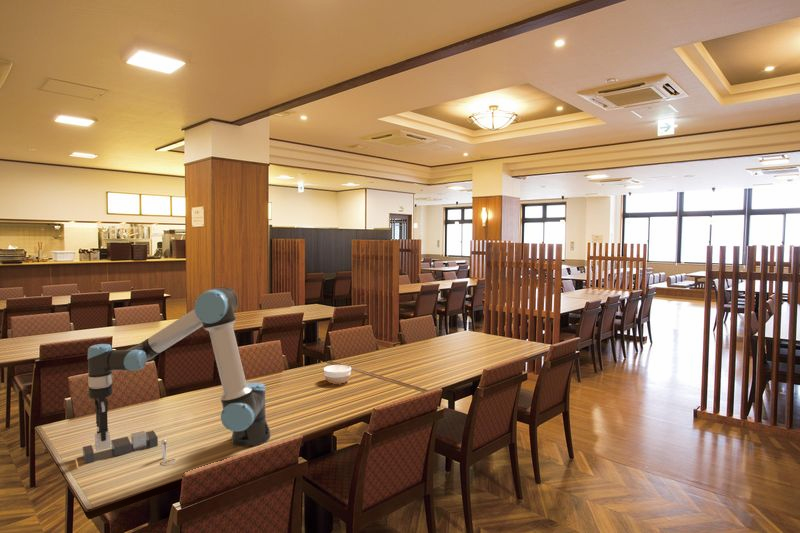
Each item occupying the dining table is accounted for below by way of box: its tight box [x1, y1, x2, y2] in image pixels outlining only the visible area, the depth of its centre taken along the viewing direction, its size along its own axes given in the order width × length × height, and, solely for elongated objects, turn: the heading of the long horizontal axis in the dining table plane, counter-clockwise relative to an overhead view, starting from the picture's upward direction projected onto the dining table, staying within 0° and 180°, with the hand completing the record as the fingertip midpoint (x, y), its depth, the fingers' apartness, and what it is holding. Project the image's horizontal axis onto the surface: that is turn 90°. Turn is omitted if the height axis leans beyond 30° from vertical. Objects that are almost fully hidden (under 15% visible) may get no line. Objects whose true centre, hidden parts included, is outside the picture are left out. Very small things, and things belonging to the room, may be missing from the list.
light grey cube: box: [130, 430, 146, 450], centre depth 183 cm, size 4×4×5 cm
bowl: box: [323, 364, 352, 385], centre depth 269 cm, size 16×16×8 cm
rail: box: [82, 430, 159, 465], centre depth 180 cm, size 8×24×4 cm, turn 129°
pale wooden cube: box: [94, 430, 112, 452], centre depth 176 cm, size 4×4×5 cm
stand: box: [159, 439, 176, 466], centre depth 173 cm, size 8×5×8 cm
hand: (102, 445), depth 176 cm, fingers closed on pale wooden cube, 4 cm apart
